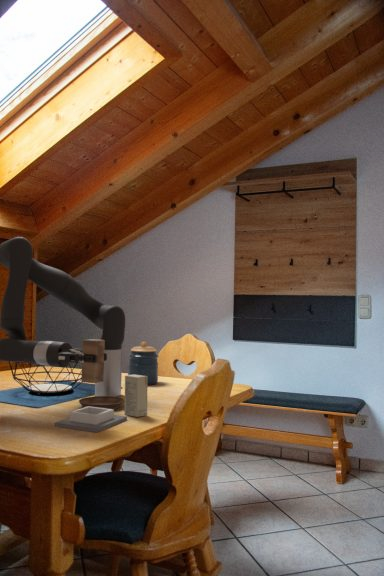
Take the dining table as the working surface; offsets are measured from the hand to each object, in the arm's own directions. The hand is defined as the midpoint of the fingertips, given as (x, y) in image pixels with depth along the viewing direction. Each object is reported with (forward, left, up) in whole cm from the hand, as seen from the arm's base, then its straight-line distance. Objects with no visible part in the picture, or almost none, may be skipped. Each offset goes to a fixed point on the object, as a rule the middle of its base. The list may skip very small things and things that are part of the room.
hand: (101, 357), depth 146 cm
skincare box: (-15, +3, -19) cm, 25 cm away
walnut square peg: (0, -3, -7) cm, 8 cm away
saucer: (-19, -11, -19) cm, 30 cm away
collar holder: (0, -2, -19) cm, 19 cm away
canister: (-68, -22, -19) cm, 74 cm away
